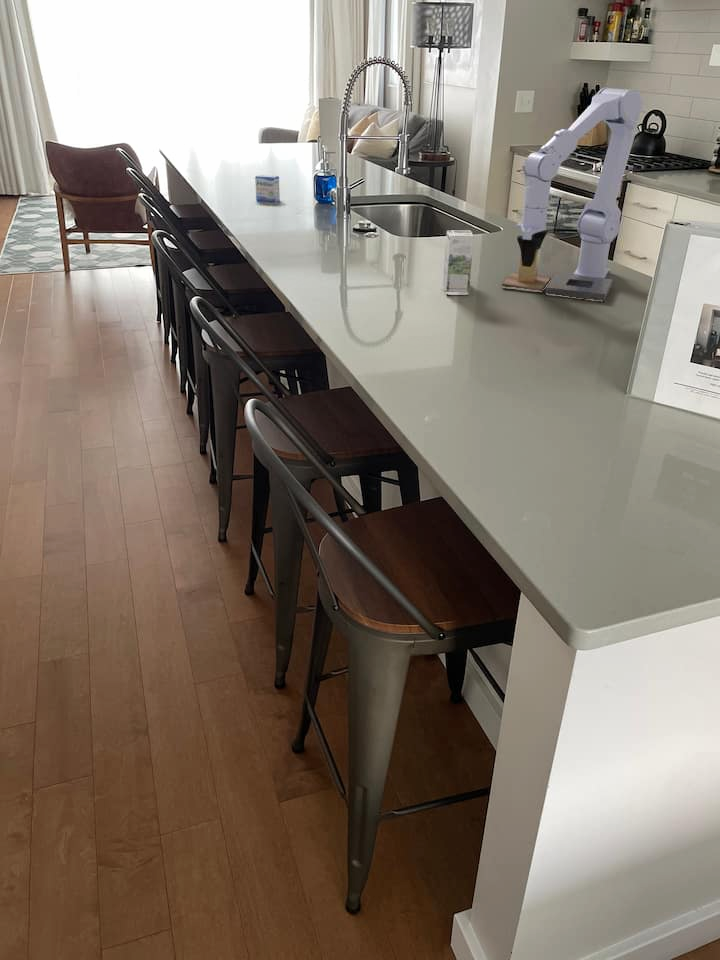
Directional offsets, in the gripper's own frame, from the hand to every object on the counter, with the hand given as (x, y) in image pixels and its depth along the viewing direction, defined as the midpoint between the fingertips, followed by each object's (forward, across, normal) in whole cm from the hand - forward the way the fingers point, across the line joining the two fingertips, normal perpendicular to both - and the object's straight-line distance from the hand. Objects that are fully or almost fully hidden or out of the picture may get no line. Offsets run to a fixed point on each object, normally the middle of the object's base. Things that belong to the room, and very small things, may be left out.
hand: (529, 263), depth 196 cm
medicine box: (+6, -73, -112) cm, 134 cm away
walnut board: (+5, 0, 0) cm, 5 cm away
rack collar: (+5, 0, +13) cm, 14 cm away
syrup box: (+6, +14, -14) cm, 21 cm away
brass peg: (+4, 0, 0) cm, 4 cm away
